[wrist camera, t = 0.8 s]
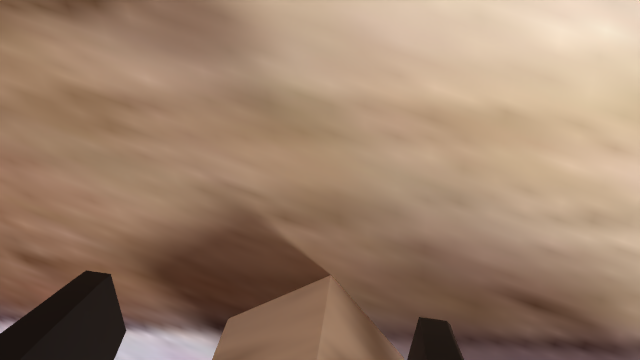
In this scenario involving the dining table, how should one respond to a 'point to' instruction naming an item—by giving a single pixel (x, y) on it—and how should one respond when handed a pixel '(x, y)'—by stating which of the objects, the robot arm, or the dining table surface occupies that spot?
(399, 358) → the ash block
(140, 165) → the dining table surface
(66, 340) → the robot arm
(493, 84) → the dining table surface
